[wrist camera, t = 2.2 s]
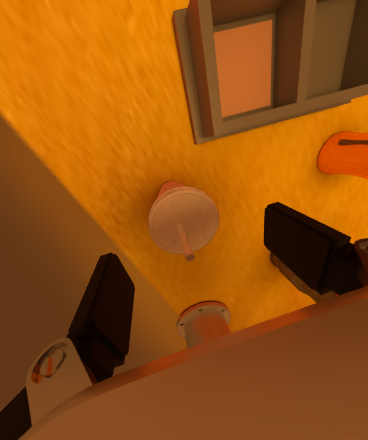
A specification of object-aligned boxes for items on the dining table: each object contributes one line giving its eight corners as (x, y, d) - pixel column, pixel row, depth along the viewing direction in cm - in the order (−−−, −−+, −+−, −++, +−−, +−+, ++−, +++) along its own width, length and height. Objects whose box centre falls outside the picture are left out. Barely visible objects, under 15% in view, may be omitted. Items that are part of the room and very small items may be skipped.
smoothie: (148, 169, 20) (143, 209, 8) (196, 171, 21) (258, 208, 9) (149, 215, 23) (148, 298, 10) (192, 214, 24) (235, 288, 12)
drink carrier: (342, 104, 21) (386, 94, 17) (194, 144, 20) (205, 143, 16) (367, -24, 16) (438, -80, 12) (172, 18, 15) (179, -28, 11)
